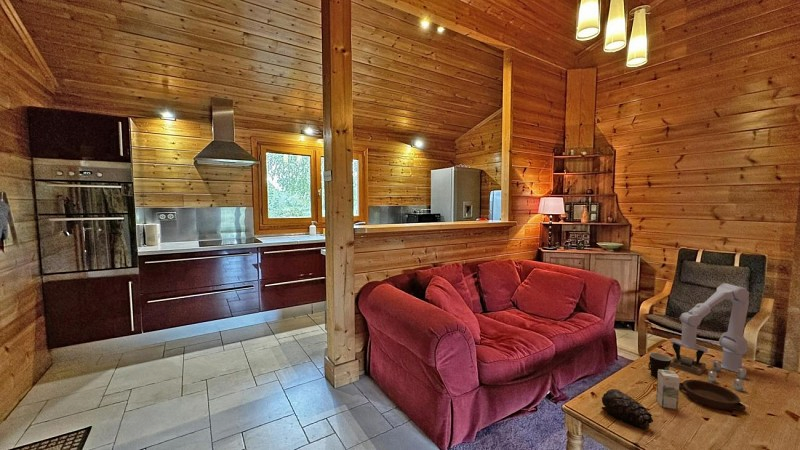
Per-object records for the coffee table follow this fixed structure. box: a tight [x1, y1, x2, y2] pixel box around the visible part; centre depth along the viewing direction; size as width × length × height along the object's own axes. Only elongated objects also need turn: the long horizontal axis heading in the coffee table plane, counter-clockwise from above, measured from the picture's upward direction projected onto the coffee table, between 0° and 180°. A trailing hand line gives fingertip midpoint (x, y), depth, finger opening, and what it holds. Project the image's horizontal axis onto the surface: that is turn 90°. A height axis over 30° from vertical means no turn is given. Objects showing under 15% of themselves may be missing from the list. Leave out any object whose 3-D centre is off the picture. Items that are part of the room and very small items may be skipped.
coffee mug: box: [648, 352, 672, 379], centre depth 164 cm, size 12×9×10 cm
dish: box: [679, 379, 747, 412], centre depth 144 cm, size 17×22×5 cm
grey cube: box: [679, 355, 695, 369], centre depth 172 cm, size 4×4×5 cm
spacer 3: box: [736, 366, 748, 381], centre depth 162 cm, size 3×3×5 cm
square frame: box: [669, 355, 707, 376], centre depth 172 cm, size 12×12×2 cm
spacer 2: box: [712, 359, 722, 373], centre depth 169 cm, size 3×3×5 cm
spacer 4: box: [733, 377, 745, 393], centre depth 152 cm, size 3×3×5 cm
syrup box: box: [655, 369, 680, 411], centre depth 141 cm, size 6×6×14 cm
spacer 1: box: [707, 369, 718, 384], centre depth 159 cm, size 3×3×5 cm
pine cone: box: [601, 388, 654, 433], centre depth 133 cm, size 10×18×10 cm, turn 39°
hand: (687, 361), depth 172 cm, fingers open, 7 cm apart
